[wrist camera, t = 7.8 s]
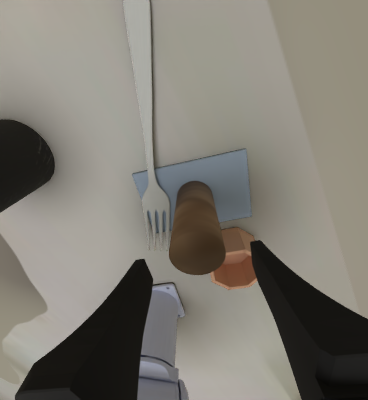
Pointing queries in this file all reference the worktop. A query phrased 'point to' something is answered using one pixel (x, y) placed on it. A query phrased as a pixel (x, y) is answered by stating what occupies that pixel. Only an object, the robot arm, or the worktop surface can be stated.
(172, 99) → the worktop surface
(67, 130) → the worktop surface
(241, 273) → the cup
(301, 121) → the worktop surface
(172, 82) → the worktop surface
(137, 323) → the robot arm
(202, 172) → the mat
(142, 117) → the fork
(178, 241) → the peg
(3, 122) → the travel mug
